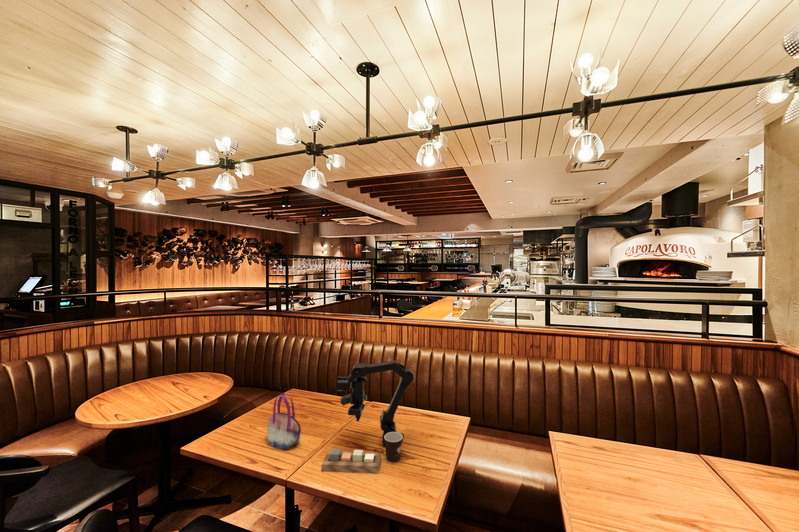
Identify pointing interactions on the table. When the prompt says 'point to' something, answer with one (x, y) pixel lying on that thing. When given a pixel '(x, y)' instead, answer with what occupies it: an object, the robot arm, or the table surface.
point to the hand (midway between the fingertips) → (358, 420)
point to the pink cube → (346, 457)
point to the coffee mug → (393, 446)
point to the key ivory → (369, 458)
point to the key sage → (358, 456)
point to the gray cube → (335, 455)
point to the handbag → (283, 426)
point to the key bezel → (352, 464)
